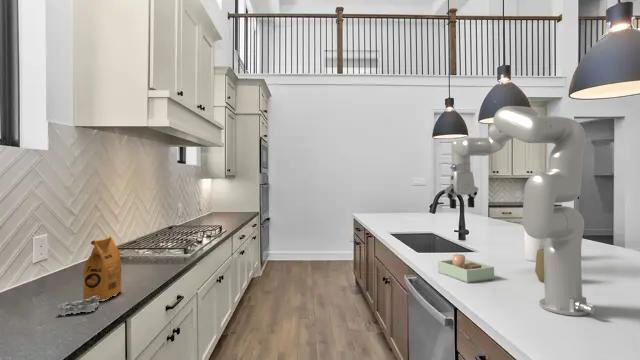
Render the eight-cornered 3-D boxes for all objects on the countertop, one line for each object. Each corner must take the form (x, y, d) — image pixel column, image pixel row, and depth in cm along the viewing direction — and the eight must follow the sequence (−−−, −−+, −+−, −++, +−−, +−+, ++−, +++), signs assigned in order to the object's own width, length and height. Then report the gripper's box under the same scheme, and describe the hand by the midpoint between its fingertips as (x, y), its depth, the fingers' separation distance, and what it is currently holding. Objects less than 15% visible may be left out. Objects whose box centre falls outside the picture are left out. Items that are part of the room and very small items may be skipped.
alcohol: (523, 257, 174) (521, 198, 174) (543, 259, 171) (542, 198, 171) (526, 261, 166) (524, 199, 166) (547, 263, 162) (546, 199, 163)
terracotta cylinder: (467, 272, 147) (467, 256, 147) (459, 274, 145) (459, 257, 145) (458, 269, 151) (458, 253, 151) (450, 271, 149) (449, 255, 149)
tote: (494, 279, 138) (494, 266, 138) (467, 283, 134) (466, 270, 134) (463, 269, 155) (462, 258, 155) (438, 272, 151) (437, 261, 151)
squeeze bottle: (552, 278, 138) (551, 233, 138) (564, 284, 130) (563, 237, 130) (531, 278, 138) (530, 233, 138) (542, 284, 130) (541, 237, 130)
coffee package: (77, 303, 121) (76, 241, 121) (100, 292, 134) (99, 235, 134) (105, 302, 121) (104, 240, 121) (126, 291, 134) (124, 235, 134)
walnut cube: (481, 277, 139) (481, 265, 139) (471, 278, 138) (471, 266, 138) (472, 274, 144) (472, 262, 144) (462, 275, 142) (462, 263, 142)
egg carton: (101, 306, 119) (101, 294, 119) (92, 314, 111) (92, 301, 111) (66, 309, 116) (66, 297, 116) (55, 318, 109) (54, 305, 109)
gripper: (450, 168, 143) (451, 209, 143) (483, 168, 149) (484, 207, 149) (439, 169, 150) (440, 208, 150) (470, 168, 156) (471, 206, 156)
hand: (462, 207), depth 149 cm, fingers open, 9 cm apart
